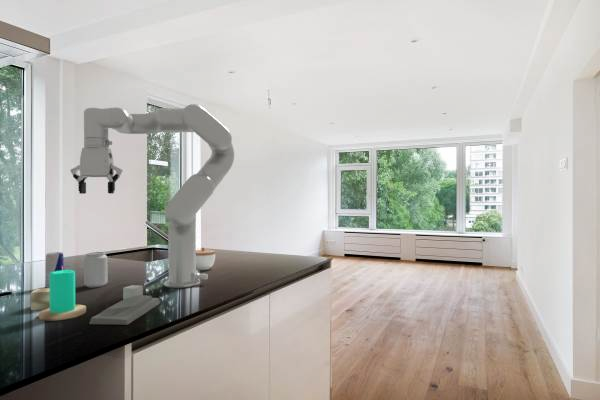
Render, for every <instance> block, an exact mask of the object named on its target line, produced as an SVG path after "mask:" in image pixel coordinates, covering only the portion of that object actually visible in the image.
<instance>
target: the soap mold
mask: <svg viewBox="0 0 600 400" xmlns="http://www.w3.org/2000/svg"><path fill="white" fill-rule="evenodd" d="M159 304H161V301H160V299H159V297H153V296H152V295H145V294H143V295H139V296H134V297H129V298H126V299H124V300H120V301H119V302H116V303H115V304H113V305H111V306H109V307H107V308H106V309H104V310H102V311H101V312H100V313H98V314H96V315H94V316H92V317H90V320H89V324H88V325H121V326H122V325H124V326H127V325H129V324H131V323H132V322H133V321H136V320H137V319H138V318H140V317H142V316H143V315H145V314H146V313H147V312H149V311H150V310H152V309H153V308H155V307H156V306H158V305H159Z"/></svg>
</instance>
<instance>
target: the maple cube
mask: <svg viewBox="0 0 600 400" xmlns="http://www.w3.org/2000/svg"><path fill="white" fill-rule="evenodd" d="M48 308H50V288H47V287H44V288H36V289H35V290H33V291H31V292H30V310H31V311H35V310H45V309H48Z"/></svg>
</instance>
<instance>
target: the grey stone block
mask: <svg viewBox="0 0 600 400" xmlns="http://www.w3.org/2000/svg"><path fill="white" fill-rule="evenodd" d="M143 287H144V286H143V285H136V284H131V285H129V286H124V287H123V288H122V289H123V290H122V292H123V293H122V298H123V300H124V299H126V298H129V297H134V296H139V295H144V288H143Z"/></svg>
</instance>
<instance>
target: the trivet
mask: <svg viewBox="0 0 600 400" xmlns="http://www.w3.org/2000/svg"><path fill="white" fill-rule="evenodd" d="M86 313H87V306H86V305H83V304H76V303H75V309H74V310H72V311H69V312H63V313H51V312H50V308H48V309H41V310H40V311H39V312H38V319H39V320H40V321H45V322H51V321H52V322H55V321H64V320H70V319H74V318H78V317H80V316H83V315H84V314H86Z"/></svg>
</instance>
